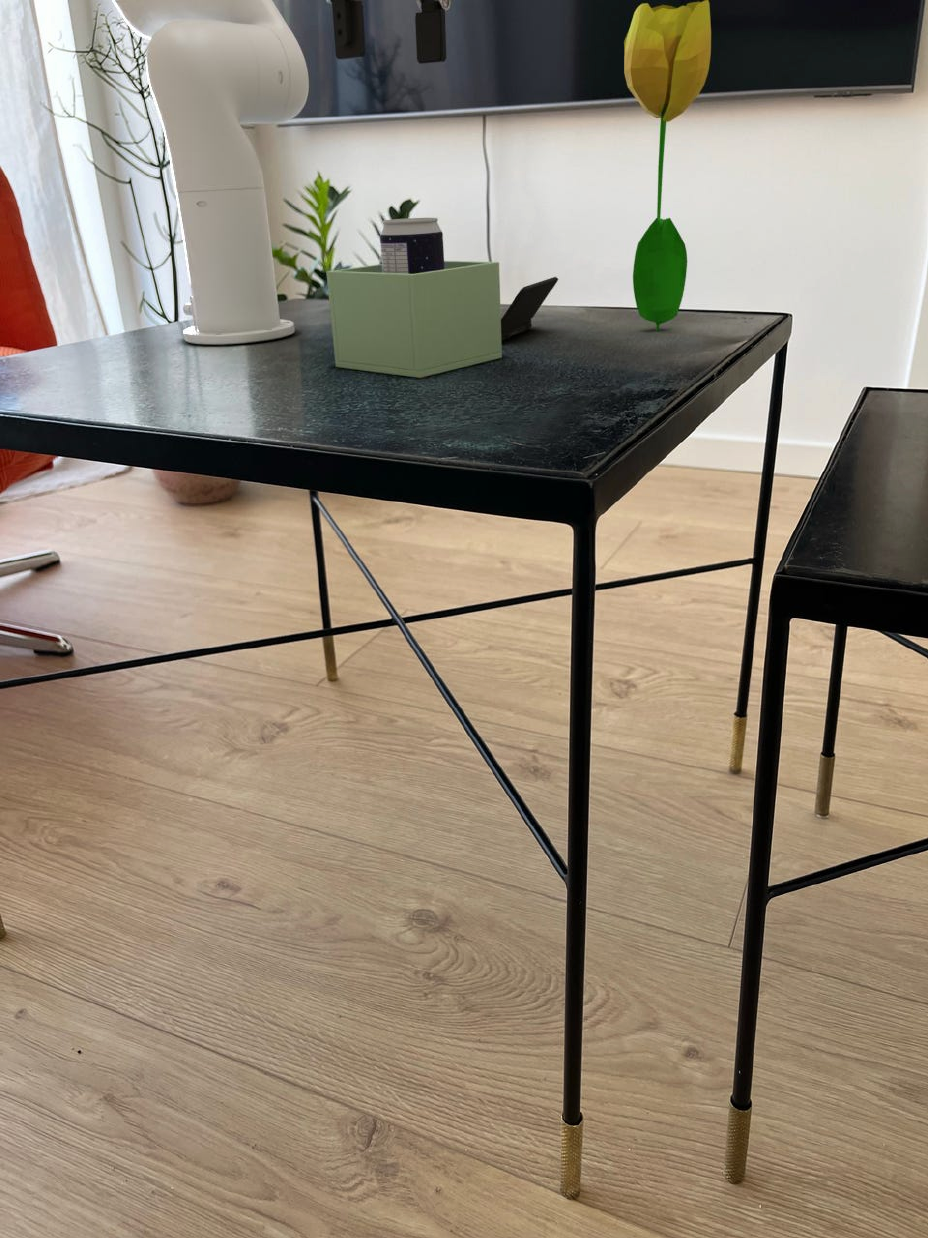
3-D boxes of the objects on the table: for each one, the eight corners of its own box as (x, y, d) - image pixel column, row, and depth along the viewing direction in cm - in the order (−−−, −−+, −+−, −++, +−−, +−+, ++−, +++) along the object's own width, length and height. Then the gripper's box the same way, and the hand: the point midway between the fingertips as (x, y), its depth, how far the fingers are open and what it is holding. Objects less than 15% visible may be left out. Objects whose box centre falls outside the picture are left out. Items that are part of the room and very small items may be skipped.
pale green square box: (335, 367, 93) (326, 271, 89) (418, 348, 100) (412, 259, 97) (419, 378, 86) (413, 274, 82) (502, 357, 93) (499, 261, 90)
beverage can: (441, 360, 90) (433, 219, 85) (381, 361, 91) (370, 222, 86) (454, 350, 95) (447, 216, 90) (397, 351, 96) (388, 218, 91)
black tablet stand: (463, 312, 111) (512, 237, 106) (514, 350, 112) (566, 278, 107) (437, 343, 102) (489, 263, 96) (492, 385, 103) (548, 308, 97)
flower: (617, 325, 108) (622, 9, 96) (691, 323, 107) (707, 3, 95) (620, 337, 101) (627, -5, 88) (700, 335, 100) (719, -12, 87)
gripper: (423, -155, 87) (431, 67, 94) (264, -196, 75) (287, 59, 83) (486, -175, 82) (490, 60, 89) (327, -222, 71) (345, 52, 78)
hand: (392, 60), depth 86 cm, fingers open, 9 cm apart
